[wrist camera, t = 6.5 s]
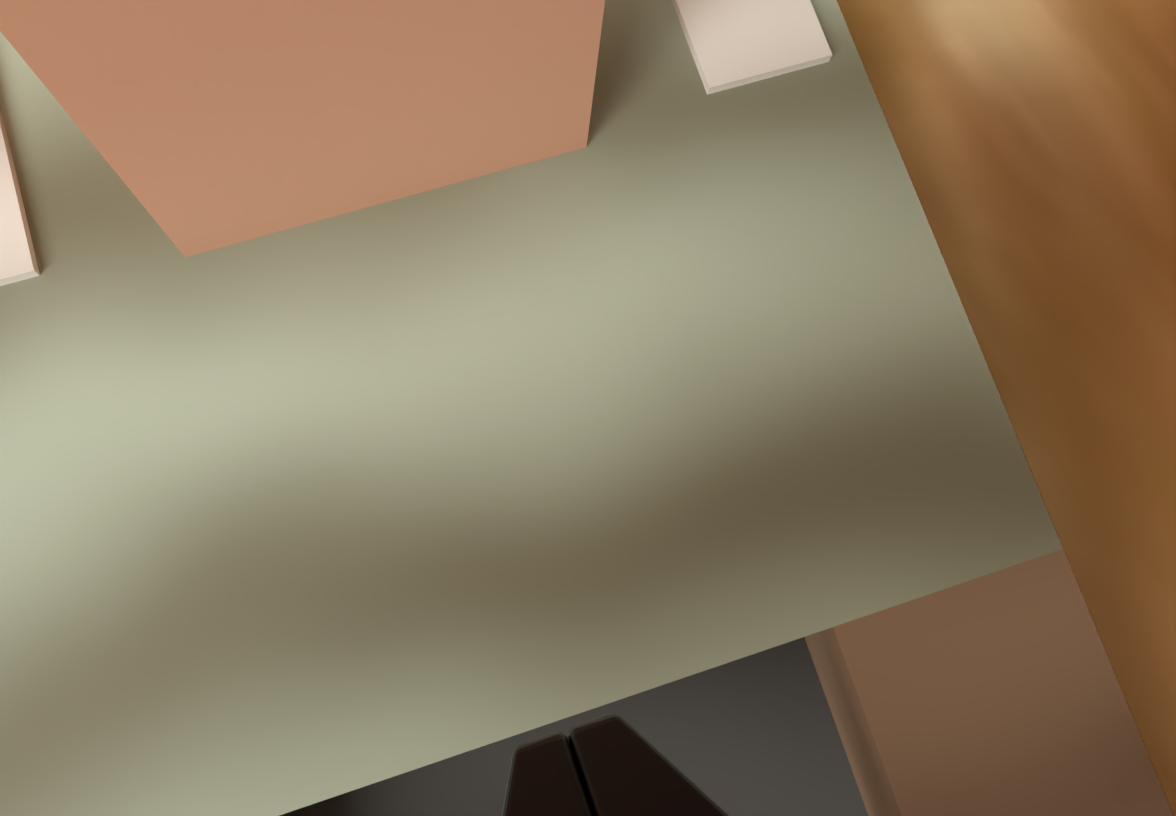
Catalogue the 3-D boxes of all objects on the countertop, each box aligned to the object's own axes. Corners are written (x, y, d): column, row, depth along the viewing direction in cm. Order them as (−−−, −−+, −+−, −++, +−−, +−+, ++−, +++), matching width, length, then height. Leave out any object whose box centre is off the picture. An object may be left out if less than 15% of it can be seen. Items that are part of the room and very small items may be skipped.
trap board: (1262, 1208, 16) (1381, 1296, 13) (202, 1670, 14) (143, 1856, 12) (521, -640, 23) (521, -776, 20) (-249, -502, 21) (-337, -636, 19)
